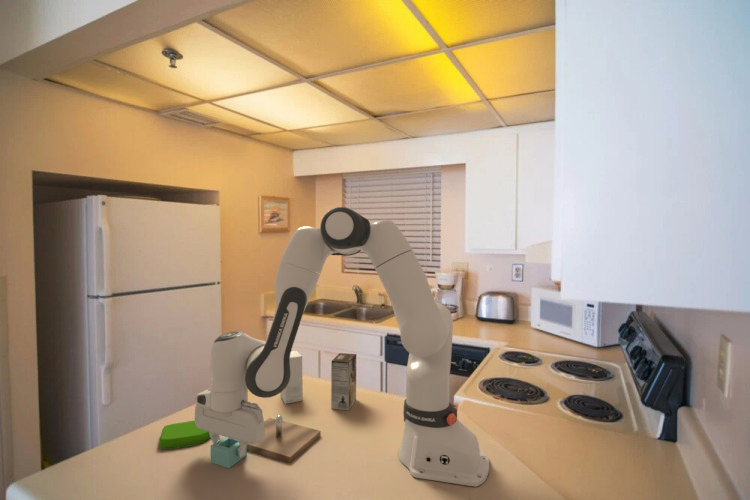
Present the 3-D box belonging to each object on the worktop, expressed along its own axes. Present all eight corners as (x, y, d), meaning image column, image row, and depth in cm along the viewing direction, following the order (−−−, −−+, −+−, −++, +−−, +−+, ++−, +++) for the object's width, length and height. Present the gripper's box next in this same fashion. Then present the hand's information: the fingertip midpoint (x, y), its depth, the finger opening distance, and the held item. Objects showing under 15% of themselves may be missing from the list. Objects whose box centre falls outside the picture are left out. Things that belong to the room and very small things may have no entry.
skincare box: (303, 401, 126) (303, 356, 126) (283, 404, 123) (284, 358, 123) (297, 392, 134) (297, 349, 134) (278, 395, 131) (279, 351, 131)
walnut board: (320, 436, 104) (320, 430, 104) (290, 462, 91) (290, 456, 91) (269, 422, 111) (269, 417, 111) (234, 445, 98) (234, 440, 98)
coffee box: (338, 397, 130) (339, 352, 129) (356, 399, 128) (356, 353, 128) (330, 409, 121) (331, 360, 120) (349, 411, 120) (349, 362, 119)
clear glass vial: (283, 436, 101) (283, 414, 101) (279, 439, 100) (279, 417, 100) (278, 435, 102) (278, 413, 102) (274, 437, 101) (274, 416, 101)
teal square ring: (246, 455, 94) (246, 439, 94) (228, 468, 89) (228, 451, 88) (229, 449, 96) (229, 434, 96) (210, 461, 91) (210, 446, 91)
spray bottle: (163, 433, 105) (253, 419, 115) (157, 454, 95) (257, 436, 105) (163, 423, 105) (253, 410, 115) (157, 442, 95) (257, 426, 104)
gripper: (270, 400, 91) (270, 455, 91) (210, 386, 99) (210, 436, 100) (252, 410, 85) (252, 469, 85) (190, 394, 93) (189, 448, 94)
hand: (229, 451), depth 93 cm, fingers open, 6 cm apart
